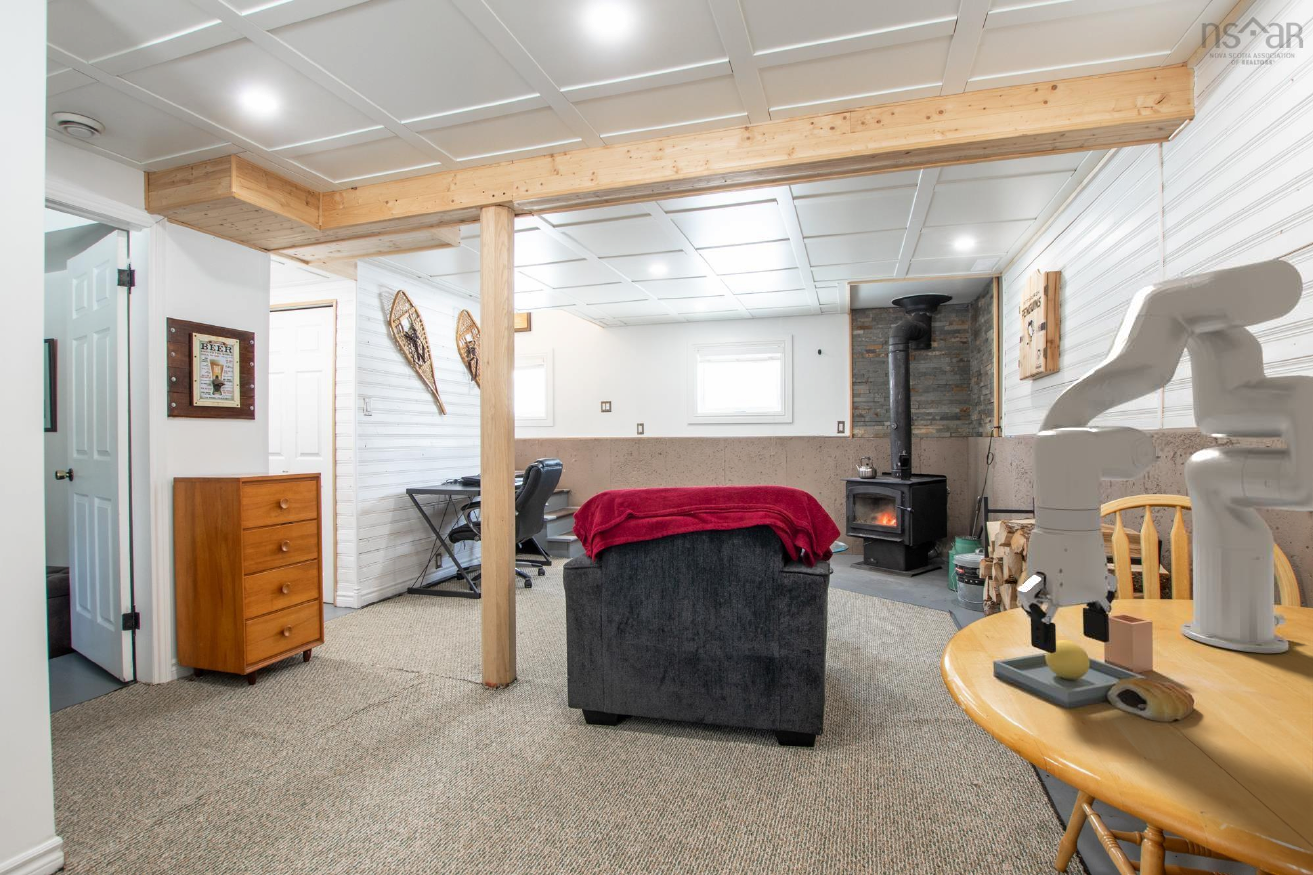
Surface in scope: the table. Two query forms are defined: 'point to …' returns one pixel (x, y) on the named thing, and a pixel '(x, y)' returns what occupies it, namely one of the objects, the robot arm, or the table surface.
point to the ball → (1068, 660)
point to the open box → (1129, 643)
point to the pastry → (1151, 699)
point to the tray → (1061, 680)
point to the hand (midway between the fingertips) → (1070, 644)
